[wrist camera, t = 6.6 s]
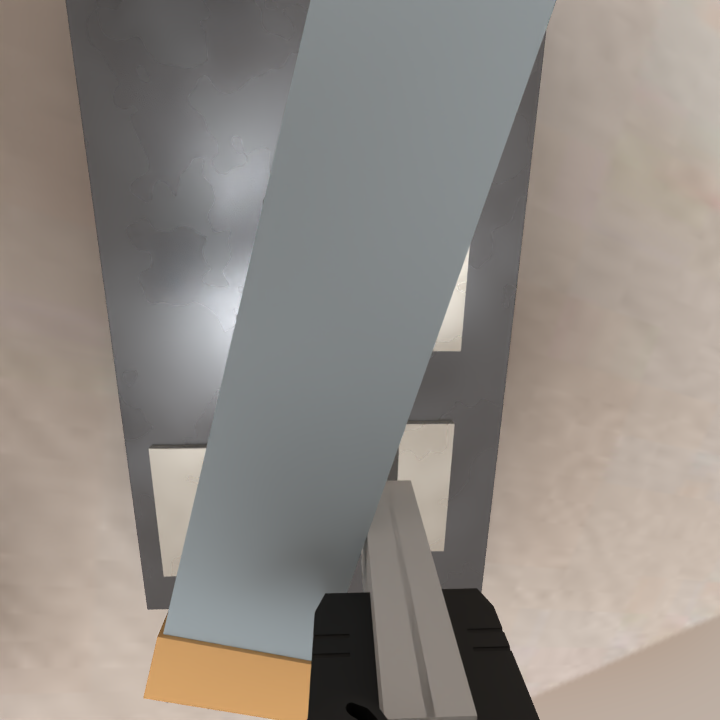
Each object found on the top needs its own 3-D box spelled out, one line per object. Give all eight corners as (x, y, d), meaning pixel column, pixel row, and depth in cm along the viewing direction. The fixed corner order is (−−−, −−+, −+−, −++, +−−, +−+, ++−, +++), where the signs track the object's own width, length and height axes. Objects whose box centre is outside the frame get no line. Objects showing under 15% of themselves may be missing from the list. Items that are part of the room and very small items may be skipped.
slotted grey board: (80, -23, 15) (51, -52, 13) (535, 0, 16) (557, -25, 14) (157, 588, 21) (143, 616, 20) (472, 581, 22) (483, 607, 21)
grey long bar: (379, -244, 8) (394, -402, 6) (583, -151, 9) (659, -267, 7) (173, 625, 14) (143, 697, 12) (309, 650, 14) (305, 724, 12)
